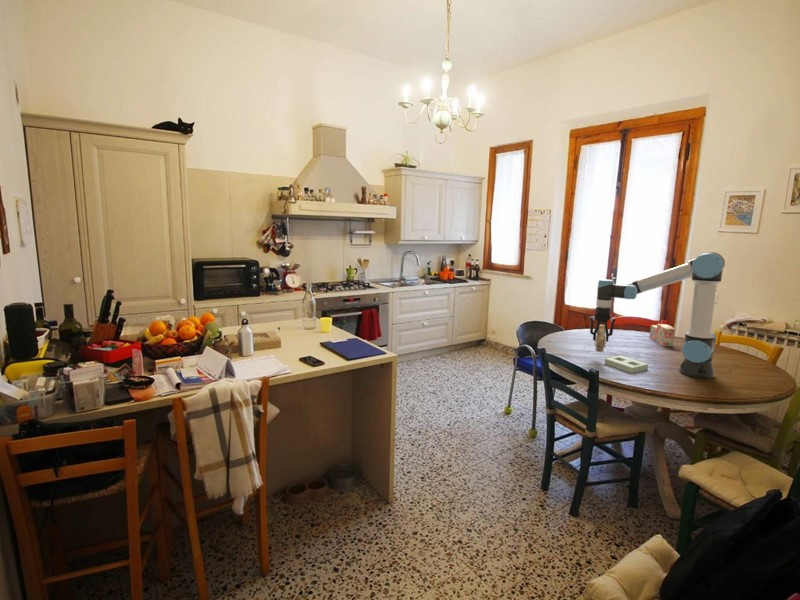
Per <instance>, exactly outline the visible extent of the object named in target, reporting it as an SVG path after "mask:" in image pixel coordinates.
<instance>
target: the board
mask: <svg viewBox="0 0 800 600" xmlns="http://www.w3.org/2000/svg"><path fill="white" fill-rule="evenodd" d="M604 365H607V366H610V367H613V368H616V369H619V370H621V371H625V372H627V373H631V374H633V373H637V372H642V371H646V370H648V369H649V363H646V362H643V361H640V360H636V359H633V358H630V357H628V356H624V355H618V356H612V357H607V358H605V359H604Z"/></svg>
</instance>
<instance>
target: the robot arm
mask: <svg viewBox="0 0 800 600" xmlns="http://www.w3.org/2000/svg"><path fill="white" fill-rule="evenodd" d="M725 263H726V261H725V259H724V257H723V256H722V255H721V254H720V253H717V252H715V251H714V252H712V251H709V252H704V253H701V254H699V255H698V256H696V257H695V258H693V259H690V260H688V261H687V263H685V264H684V263H683V264H681V265H678V266H676V267H672V268H669V269H666V270H662V271H660V272H657V273H655V274H652V275H647V276H645V277H642V278H639V279H637V280H633V281H630V282H627V283H624V284H619V283H618V284H617V283H614V281H613V280H612V279H606V278H605V279H599V281H598V284H597V293H596V302H595V303H596V307H595V314H594V315H592V316H589V320H590V324H589V325H590V326H589V333H590V334H591V335H592V341H594V347H595V348H596V347H597V331H598V328H599V325H601V324H603V325H605V339H604V348H606V346H607V343H608V342H609V337H610V336H613V333H614V326H615V325H614V324H615V322H616V318H614V317H611V311H612V310H611V309H612V308H611V307H612V300H613V299H612V298H616V299H627V300H635V299H636V298H637V296H638V295H640V294H641V293H644V292H645V293H646V292H648V291H651V290H655V289H657V288H662V287H665V286H667V285H671V284H674V283H678V282H681V281H684V280H687V279H691V281H693V283H694V288H693V297H692V306H691V314H690V322H689V330H688V331H686V332H685V334H684V340H683V341H684V342H683V344H682V346H681V352H682V355H683V357H684V359H683V360H682V362H681V364H680V365H679V368H678V369H679V370H678V371H679V372H680V373H681V374H683V375H686V376H690V377H693V378H699V379H713V378H715V377H714V376H715V369H714V366H713V357H714V350H715V347H716V346H715V345H716V341H717V334H715V333H713V332H712V322H713V318H714V308H715V299H716V294H717V286H718V284H720V283H721V282H722V277H723V271H724V270H723V269H724V268H725V265H726V264H725ZM595 320H596V323H595V327H594V321H595ZM609 321H610V325H609V326H608V322H609ZM608 327H609V328H608Z"/></svg>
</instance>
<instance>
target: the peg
mask: <svg viewBox="0 0 800 600" xmlns="http://www.w3.org/2000/svg"><path fill="white" fill-rule="evenodd" d="M596 335H597V347H595V352H598V353H604V339H605V335H606V333H605V325H604V324H600V325H599V328H598V331H597V334H596Z"/></svg>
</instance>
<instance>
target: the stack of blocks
mask: <svg viewBox="0 0 800 600" xmlns="http://www.w3.org/2000/svg"><path fill="white" fill-rule="evenodd" d="M675 334H676V328H674V327H673V326H671V325H669V324H667V323H666V324H664V323H657V324H656V325H655V324H651V325H650V333H649V338H650V339H651V340H653V341H654V342H656V343H657V344H658V345H661V346H662V347H670V346H673V347H674V345H673V344H674V339H675Z"/></svg>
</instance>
